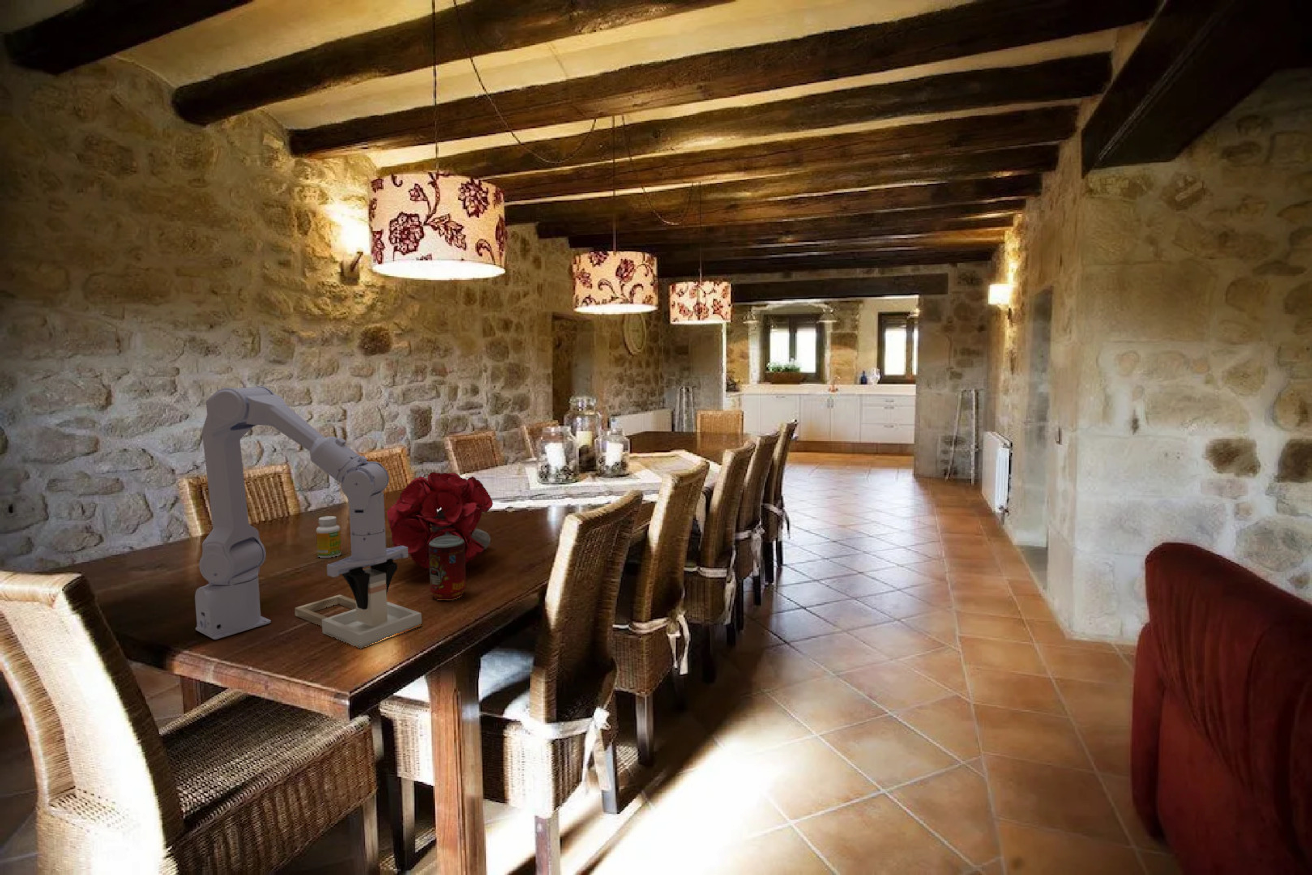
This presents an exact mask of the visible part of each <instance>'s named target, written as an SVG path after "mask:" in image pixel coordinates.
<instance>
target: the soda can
mask: <svg viewBox="0 0 1312 875" xmlns="http://www.w3.org/2000/svg"><path fill="white" fill-rule="evenodd" d="M429 566H430V569H429V587H430V588H429V590H430V593H432V595H433V597H434V598H433V599H434V600H435V599H454V598H457V597H459V596H461V595H462V594H464V592H465V589H467V588H466V587H467V584H466V583H467V579H466V563H465V542H464V540H463V539H461V538H460V537H458V536H454V535H450V536H441V537H437V538H434V539H433V540H432V541H431V542H430V543H429Z"/></svg>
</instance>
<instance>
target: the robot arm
mask: <svg viewBox="0 0 1312 875" xmlns="http://www.w3.org/2000/svg"><path fill="white" fill-rule="evenodd" d="M205 405H206V407H205V408H206V418H205V420H204V424H203V427H202V429H201V430H202V431H201V432H202V433H201V434H202V444H203V453H204V461H205V462H204V463H205V469H206V477H207V478H206V479H207V488H208V489H207V490H208V497H209V505H210V506H209V507H210V512H211V513H210V515H211V523H212V530H211V531H210V532H209V534H208V535H207V536H206V538H205V539H204V540H203V542H202V544H201V547H202V553H201V557H200V559H199V572H200V573H201V576H202V577H203V578H204V580H206V581H207V582H208V583H207V584H206V585H204V586H199V587H198V588H197V589H196V590H195V594H194V602H195V603H194V604H195V615H196V627H195V631H197V632H199V633H200V634H203V635H204V636H207V637H209V638H210V639H212V640H219V639H221V638H223V639H224V638H225V637H229V636H232V635H235V634H239V633H242V632H245V631H248V630H252V629H255V628H257V627H262V626H265V625H269V624H270V623H271V622H272V620H271V619H269V618H267V617H264V616H262V614H261V600H260V597H261V596H260V587H259V585H260V584H259V574H260V567H261V566H262V565H263V564H264V563H265V561H266V557H267V553H266V552H267V551H266V548H265V546H264V544H263V543H262V541H261V539H260V532H259V530H258V529H257V528H255V527H254V526H252V525H251V524H250V523H249V514H248V504H247V495H246V485H245V477H244V474H245V473H244V468H243V466H244V465H243V456H242V448H241V447H242V446H241V439H242V438H244V436H245V435H246V434H247V433H249V431H250V430H252V428H254V427H256V426H267V427H268V426H270V427H273V428H274V429H276V430H277V431H278V432H280V433H282V434H283V435H285V436H286V437H288V438H289V439H291V440H292V441H293V442H295V443H296V444H298V445H299V446H301V447H302V448H303V449H305V450H307V451H308V452H309V454H310V455H309V456H310V462H312V463H313V464H314V465H315V466H316V467H318V468H319V469H321V470H322V471H324V472H325V473H326V474H328V475H329V476H330V477H331V478H332V479H334V480H336V481H337V482H338V483H339V484H340V488H341V491H342V493H343V494H344V496H345V497H346V499H347V503H348V505H347V506H348V511H349V513H348V514H349V527H350V528H349V529H350V531H349V532H350V534H349V535H350V548H351V550H350V551H351V555H350V556H347V557H345V558H342V559H340V560H337V561H335V562H331V563H328V564H326V573H327V576H329V577H332V578H337V577H339V576H340V575H341V576H342V577H343V579H344V580H345V581H346V583H347V584H348V586H349V589H350V590H351V592H352V594H353V597H354V600H356V603H357V607H358V608H360V609H363V610H365V609H367V606H368V582H369V578H370V574H369V573H365V570H364V568H365V569H366V568H371V569H374V570H378V571H381V572H384V573H386V587H387V589H386V596H387V597H388V591H389V588H390V584H391V582H392V579H393V577H394V575H395V573H396V572H397V570H398V562H394V560H398V559H406V558H409V553H408V547H405V546H398V547H394V546H392V547H387V537H386V519H385V517H386V515H385V496H384V491H385V490H386V489H387V488H388V486H389V481H390V476H389V473H388V471H387V469H386V468H385V467H384V466H383V465H382V463H380V462H378V461H367V460H368V458H367V457H366V456H364V455H360V454H358V453H357V452H356V451H354V450H353V449H352V448H351V447H349V446H348V445H346V444H347V440H345V439H344V438H342V437H339V438H337V437H336V436H334V435H333V436H327V437H325V436H323V434H321V433H320V432H319V431H318V430H317V429H315V428H314V427H313V426H312V425H311V424H309V423H308V422H307V421H306V419H304V418H303V417H301V415H300V414H298V413H297V412H296V411H294V410H293V409H292V408H290V406H289V405H287V403H286V402H285V400H284V398H283V397H282V396H280V395H279V394H277V393H275V392H274V391H273V390H272V389H270V388H268V387H267V386H263V385H262V386H261V385H259V386H253V387H236V388H235V387H234V388H233V387H223V388H220V389H218V390H216V391H215V392H214V393H213V394H212V395H210V397H208V399H207V400H206V401H205Z"/></svg>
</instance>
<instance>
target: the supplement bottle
mask: <svg viewBox="0 0 1312 875" xmlns="http://www.w3.org/2000/svg"><path fill="white" fill-rule="evenodd" d="M337 523H338V522H337V516H332V515H331V516H328V515H325V516H321V517H319V518H318V524H319V526H318V527H316V530H315V531H316V532H315V534H316V550H317V552H316V553H317V557H318V558H319V557H320V559H332V558H331V557H333V558H336V557H335V556H337V557H339V556H340V555H341V554H342V539H341V538H342V536H341V526H339V525H338V524H337Z"/></svg>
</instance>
